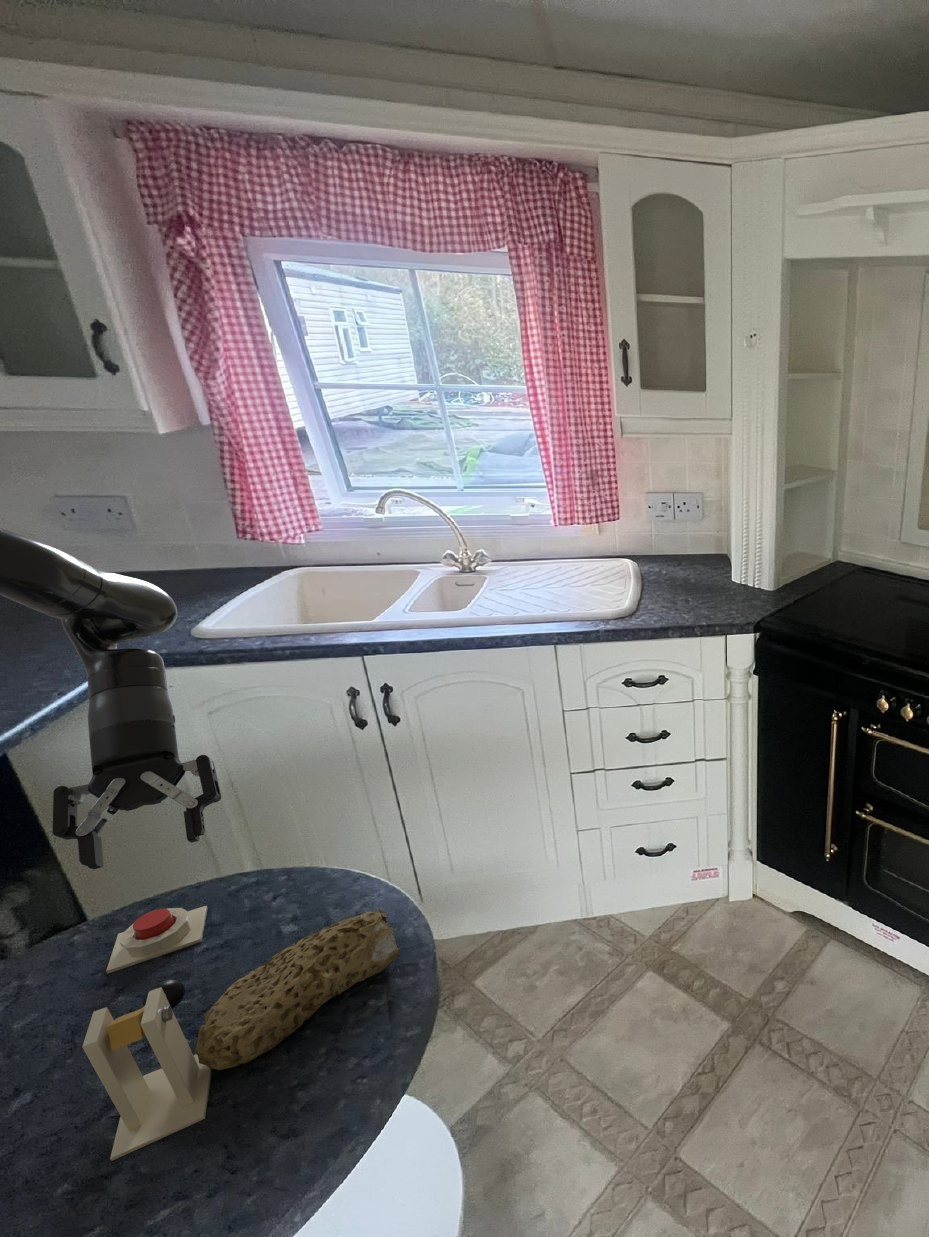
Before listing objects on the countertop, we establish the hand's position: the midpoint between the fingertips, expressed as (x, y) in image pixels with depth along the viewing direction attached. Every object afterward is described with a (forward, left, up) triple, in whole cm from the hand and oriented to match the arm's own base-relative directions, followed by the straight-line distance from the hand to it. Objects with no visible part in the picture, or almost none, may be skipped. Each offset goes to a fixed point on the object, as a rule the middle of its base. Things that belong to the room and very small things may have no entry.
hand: (146, 853), depth 79 cm
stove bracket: (0, -21, -18) cm, 28 cm away
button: (-4, +7, -16) cm, 18 cm away
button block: (-4, +7, -18) cm, 20 cm away
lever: (0, -17, -11) cm, 20 cm away
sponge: (+12, -14, -19) cm, 27 cm away
